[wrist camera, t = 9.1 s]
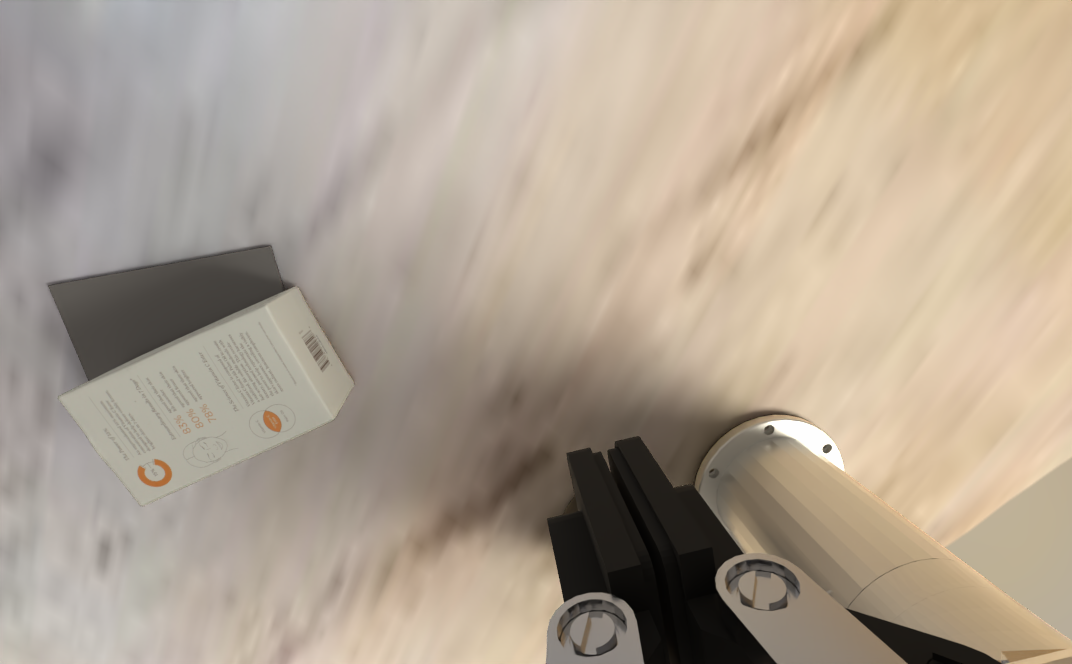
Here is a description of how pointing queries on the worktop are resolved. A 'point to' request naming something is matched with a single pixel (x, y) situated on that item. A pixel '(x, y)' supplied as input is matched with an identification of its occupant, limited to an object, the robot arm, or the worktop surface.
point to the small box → (212, 397)
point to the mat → (159, 304)
